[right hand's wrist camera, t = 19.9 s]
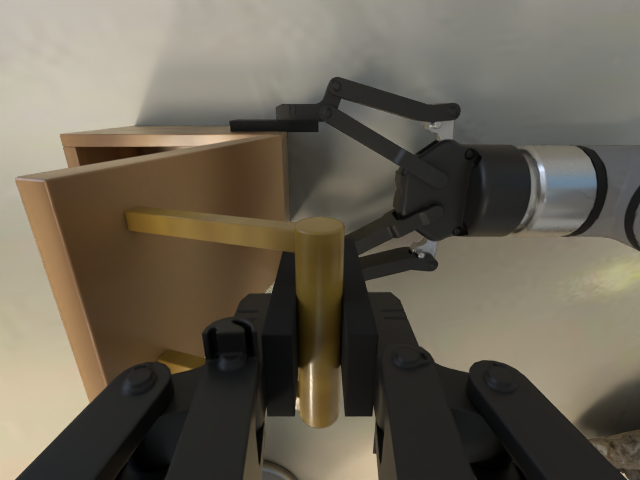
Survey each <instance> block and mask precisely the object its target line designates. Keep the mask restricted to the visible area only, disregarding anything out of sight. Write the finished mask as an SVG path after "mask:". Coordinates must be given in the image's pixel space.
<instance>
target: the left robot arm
mask: <svg viewBox="0 0 640 480" xmlns="http://www.w3.org/2000/svg"><path fill="white" fill-rule="evenodd" d="M341 99H345V100H348V101H351V102H355V103H358V104H361V105H365V106H368V107H371V108H375V109H378V110H381V111H385V112H388V113H391V114H395V115H398V116H401V117H405V118H408V119H412V120H417V121H424V128H425V129H426V130H427V131H430V132H433V133H434V134H435V135H436V140H435V141H434V142H432V143H431V144H429V145H428V146H426V147H425V148H423V149H422V150H420V151H419V152H418V153H416V154H415V155H413V154H411V153H410V152H408V151H406V150H404V149H403V148H401V147H399V146H398V145H396V144H394V143H393V142H391V141H389V140H388V139H386V138H384V137H383V136H381V135H379V134H378V133H376V132H374V131H373V130H371V129H369V128H368V127H366V126H364V125H363V124H361V123H360V122H358V121H356V120H355V119H353V118H351V117H350V116H348V115H346V114H345V113H343V112H341V111H340V110H338V109H337V108H338V105H339V103H340V100H341ZM460 112H461V111H460V107H459V105H458V104H456V103H439V104H425V103H421V102H418V101H415V100H411V99H408V98H405V97H402V96H398V95H395V94H392V93H389V92H385V91H382V90H379V89H376V88H372V87H369V86H366V85H363V84H359V83H356V82H353V81H350V80H346V79H343V78H340V77H335V78H332V79H331V80H330V82H329V84H328V87H327V90H326V93H325V96H324V98H323V100H322V101H321V102H320V103H318V104H282V105H280V106H277V107H276V120H232V121H230V131H278V132H318V122H326V123H328V124H330V125H331V126H333V127H335V128H336V129H338V130H340V131H341V132H343V133H345V134H346V135H348V136H350V137H352V138H353V139H355V140H357V141H358V142H360V143H362V144H363V145H365V146H367V147H368V148H370V149H372V150H374V151H375V152H377V153H379V154H380V155H382V156H384V157H385V158H387V159H389V160H390V161H392V162H394V163H395V164H397V165H399V166H400V167H399V169H398V171H396V177H395V181H396V186H397V190H396V193H395V196H394V201H393V207H394V208H395V209H393V210H391V211H389V212H387V213H386V214H384V216H383V217H382V218H380V219H378V220H376V221H374V222H372V223H370V224H368V225H366V226H364V227H362V228H360V229H358V230H356V231H354V232H352V233H350V234H348V235H346V236H344V239H354V241H355V245H356V249H357V253H358V255H360V254H362V253H364V252H366V251H368V250H370V249H372V248H374V247H376V246H378V245H380V244H382V243H384V242H386V241H388V240H390V239H392V238H399V237H402V236H404V235H406V234H408V233H410V232H412V231H414V230H416V231H417V232H418V233H420V234H421V235H422V236H424V238H423V240H421V241H420V242H414V243H412V244H411V246H410V247H401V248H396V249H392V250H388V251H384V252H380V253H376V254H372V255H367V256H363V257H359V260H360V264H361V268H362V272H363V276H364V280H365V281H366V280H371V279H375V278H379V277H383V276H387V275H392V274H396V273H400V272H404V271H408V270H419V271H434V270H435V269H436V268H437V267H438V262H437V260H436V259H435V253H436V249H437V245H438V241H440V240H443V239H445V238H447V237H450V236H464V237H502V236H506V235H509V236H513V237H544V236H561V237H569V236H583V237H606V238H611V239H614V240H617V241H619V242H621V243H624V244H626V245H628V246H630V247H632V248H635V249H637V250H638V251H640V145H627V146H572V145H569V146H567V145H520V146H517V147H514V146H512V145H461V144H459V143H457V142H456V141H454V140H453V130H454V120H455V119H457V118H458V116H459V115H460ZM261 480H296V479H295V478H294V477H293V476H292V474H290V473H289V472H288V471H287V470H285V469H284V468H282V467H280V466H278V465H276V464H274V463H271V462H268V461H264V460H263V467H262V479H261Z"/></svg>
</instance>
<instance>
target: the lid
mask: <svg viewBox="0 0 640 480" xmlns="http://www.w3.org/2000/svg"><path fill="white" fill-rule="evenodd" d="M15 181H16V184H17V187H18V190H19V193H20V196H21V199H22V202H23V205H24V208H25V211H26V214H27V217H28V220H29V223H30V226H31V229H32V232H33V235H34V238H35V241H36V244H37V247H38V250H39V253H40V256H41V259H42V262H43V265H44V268H45V271H46V274H47V277H48V280H49V283H50V286H51V288H52V291H53V294H54V297H55V300H56V303H57V306H58V309H59V312H60V315H61V318H62V321H63V324H64V327H65V330H66V333H67V336H68V339H69V342H70V345H71V348H72V351H73V354H74V357H75V360H76V363H77V366H78V369H79V372H80V375H81V378H82V381H83V384H84V387H85V390H86V393H87V396H88V399H89V402H90V403H91V402H92V401H93V400H94V399H95V398H96V397H97V396H98V395H99V394H100V393H101V392H102V391H103V390H104V389H105V388H106V386H107V385H108V384H109V383H110V382H111V381H112V380H113V379H114V378H115V377H117V376H118V375H119V374H120V373H122V372H123V371H124V370H126V369H128V368H130V367H132V366H134V365H137V364H141V363H145V362H160V363H163V364H166V365H167V367H168V368H169V369H170V371H171V374H175V373H179V372H183V371H187V370H191V369H195V368H198V367H200V366H202V365H204V364H205V362H206V358H204V357H205V352H204V345H203V339H202V332H203V331H204V330H205V328H206V327H207V326H208V325H210V324H211V323H213V322H214V321H217V320H220V319H222V318H227V317H234V315H235V312H236V310H237V307H238V305H239V302H240V301H241V300H242V299H243V298H244V297H246V296H247V295H248V294H249V293H264V292H265V291H266V290H267V289H268V288H269V287H270V286H271V285H272V284H273V283H274V281H275V279H276V275H277V271H278V268H279V264H280V260H281V256H282V252H283V251H285V252H293V253H295V278H296V295H297V324H298V358H299V370H298V377H299V381H298V382H297V395H296V407H295V410H297V411H300V416H301V418H302V420H303V421H304V422H305V423H306V424H307V425H309V426H311V427H313V428H325V427H328V426H330V425H332V424H333V423H334V422H335V421H336V420H337V418H338V416H339V409H340V374H341V338H342V303H343V268H344V233H345V227H344V224H343V223H342V222H341V221H339V220H336V219H333V218H327V217H312V218H306V219H303V220H300V221H298V222H296V223H293V222H285V211H284V186H283V161H282V136H281V135H261V136H255V137H249V138H243V139H237V140H231V141H225V142H220V143H214V144H208V145H202V146H196V147H190V148H184V149H178V150H172V151H167V152H161V153H155V154H149V155H143V156H137V157H131V158H125V159H119V160H113V161H108V162H102V163H96V164H90V165H84V166H78V167H72V168H66V169H60V170H55V171H49V172H43V173H37V174H31V175H25V176H19V177H17V178H15Z"/></svg>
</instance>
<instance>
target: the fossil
mask: <svg viewBox="0 0 640 480" xmlns="http://www.w3.org/2000/svg"><path fill="white" fill-rule="evenodd" d="M588 441H589V442H590V443H591V444H592V445H593V446H594V447H595V448H596V449H597V450H598V451H599V452H600V453H601V454H602V455H603V456H604V457H605V458H606V459H607V460H608V461H609V462H610V463H611V464H612V465H613V466H614V467H615V468H616V469H617V470H618V471H619V472H622V473H625V475H626V477H627V478H628V479H629V480H640V429H639V430H634V431H628V432H623V433H619V434H614V435H610V436H607V437H605V438H597V439H591V440H588Z"/></svg>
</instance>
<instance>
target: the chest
mask: <svg viewBox="0 0 640 480" xmlns="http://www.w3.org/2000/svg"><path fill="white" fill-rule="evenodd" d="M261 135H281V136H282V161H283V186H284V211H285V222H290V204H289V175H288V146H287V132H278V131H230V126H129V127H120V128H111V129H102V130H93V131H84V132H75V133H66V134H60V137H61V141H62V145H63V149H64V153H65V156H66V160H67V164H68V167H69V168H72V167H78V166H84V165H90V164H96V163H102V162H108V161H113V160H119V159H125V158H131V157H137V156H143V155H149V154H155V153H161V152H167V151H172V150H178V149H184V148H190V147H196V146H202V145H208V144H214V143H220V142H225V141H231V140H237V139H243V138H249V137H255V136H261Z"/></svg>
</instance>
